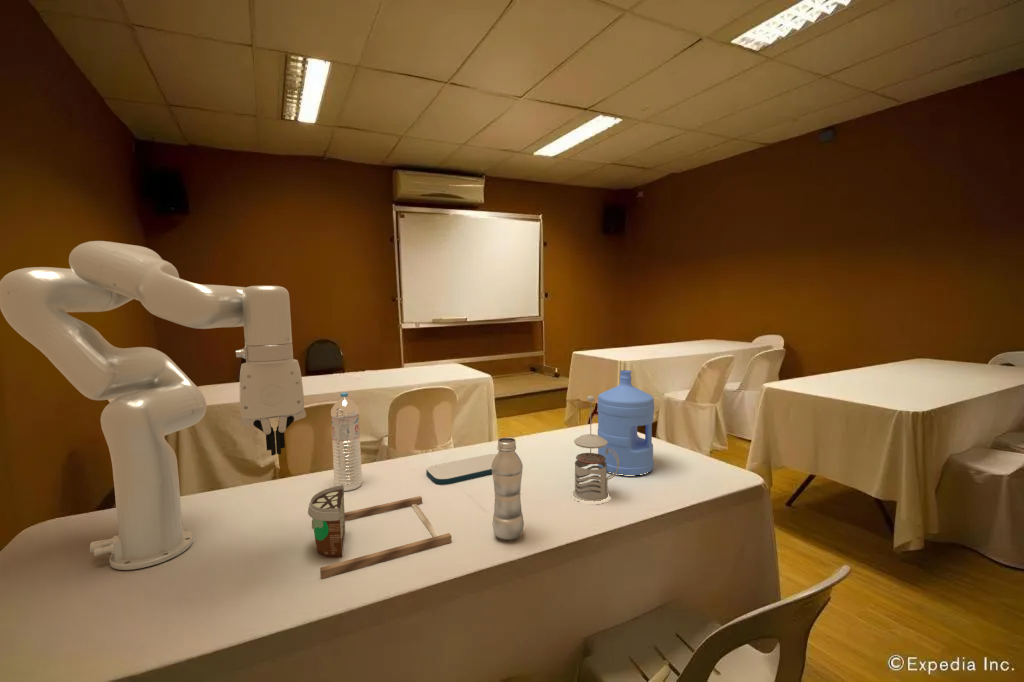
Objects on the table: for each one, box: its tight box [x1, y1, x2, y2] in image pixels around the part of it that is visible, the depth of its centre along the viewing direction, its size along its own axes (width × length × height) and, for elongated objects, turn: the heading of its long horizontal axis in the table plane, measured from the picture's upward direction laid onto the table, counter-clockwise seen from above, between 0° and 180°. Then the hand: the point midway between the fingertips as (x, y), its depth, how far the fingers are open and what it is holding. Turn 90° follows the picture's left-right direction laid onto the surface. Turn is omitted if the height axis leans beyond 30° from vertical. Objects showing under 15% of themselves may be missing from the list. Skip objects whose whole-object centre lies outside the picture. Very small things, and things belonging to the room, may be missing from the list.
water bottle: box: [330, 392, 363, 492], centre depth 115 cm, size 7×7×25 cm
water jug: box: [597, 369, 655, 475], centre depth 126 cm, size 16×16×28 cm
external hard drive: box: [425, 453, 497, 486], centre depth 126 cm, size 24×12×2 cm, turn 120°
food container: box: [307, 485, 346, 559], centre depth 87 cm, size 12×6×10 cm, turn 17°
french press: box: [572, 395, 619, 502], centre depth 107 cm, size 10×12×25 cm
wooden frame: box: [311, 495, 452, 580], centre depth 92 cm, size 24×21×1 cm
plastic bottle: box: [491, 436, 525, 541], centre depth 89 cm, size 6×7×20 cm
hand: (276, 452), depth 82 cm, fingers closed
